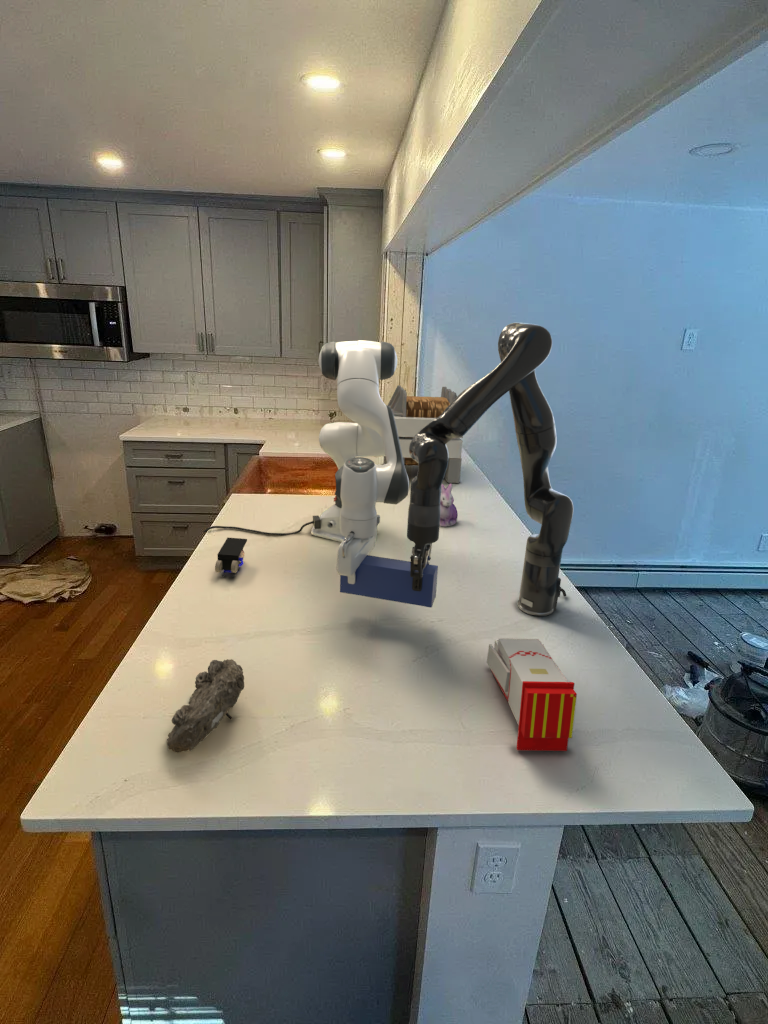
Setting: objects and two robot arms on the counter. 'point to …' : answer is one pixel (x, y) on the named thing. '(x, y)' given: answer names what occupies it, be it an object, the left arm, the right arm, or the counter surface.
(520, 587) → the right robot arm
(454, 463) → the transformer
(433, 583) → the block
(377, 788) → the counter surface
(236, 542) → the figurine character
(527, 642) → the toy
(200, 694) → the fossil
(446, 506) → the figurine
